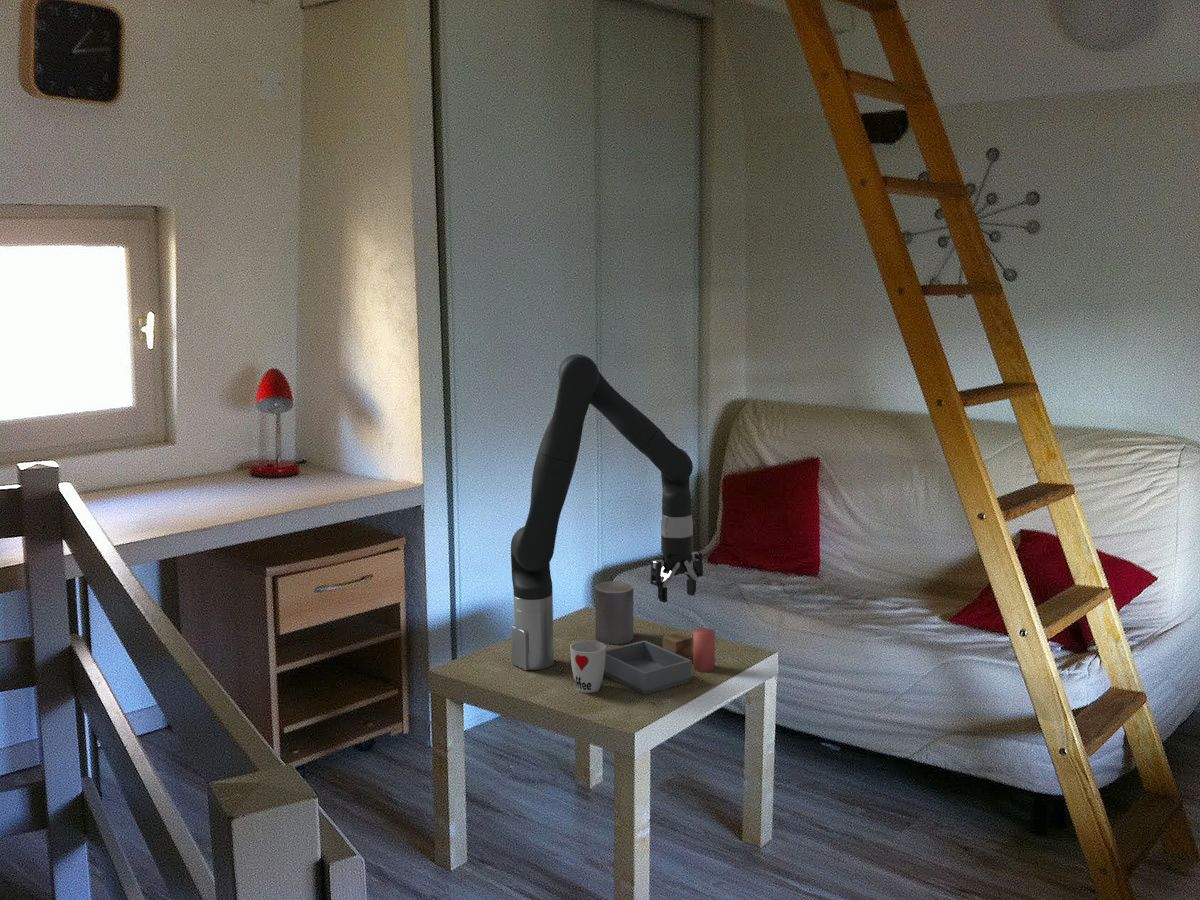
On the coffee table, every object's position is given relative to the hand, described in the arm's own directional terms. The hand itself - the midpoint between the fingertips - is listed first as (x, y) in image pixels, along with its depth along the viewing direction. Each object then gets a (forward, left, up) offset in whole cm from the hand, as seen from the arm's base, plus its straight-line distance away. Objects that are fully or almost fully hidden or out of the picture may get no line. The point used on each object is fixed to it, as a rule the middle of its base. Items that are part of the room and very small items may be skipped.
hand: (677, 598), depth 296 cm
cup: (-29, -4, -15) cm, 33 cm away
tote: (-15, -6, -15) cm, 22 cm away
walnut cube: (0, 0, -15) cm, 15 cm away
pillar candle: (-4, +20, -15) cm, 25 cm away
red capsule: (0, -10, -15) cm, 18 cm away
